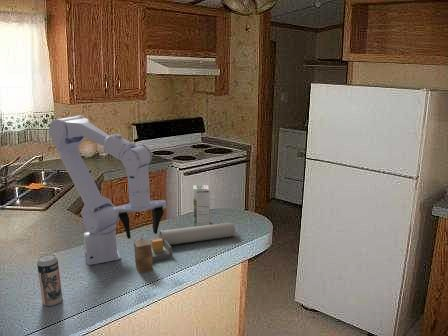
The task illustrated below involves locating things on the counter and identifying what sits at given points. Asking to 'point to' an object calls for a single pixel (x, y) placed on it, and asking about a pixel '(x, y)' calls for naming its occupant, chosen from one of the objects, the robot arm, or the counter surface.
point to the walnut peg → (143, 255)
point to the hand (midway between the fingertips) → (142, 234)
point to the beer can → (49, 280)
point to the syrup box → (201, 205)
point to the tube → (198, 233)
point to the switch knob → (157, 244)
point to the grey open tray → (161, 250)
